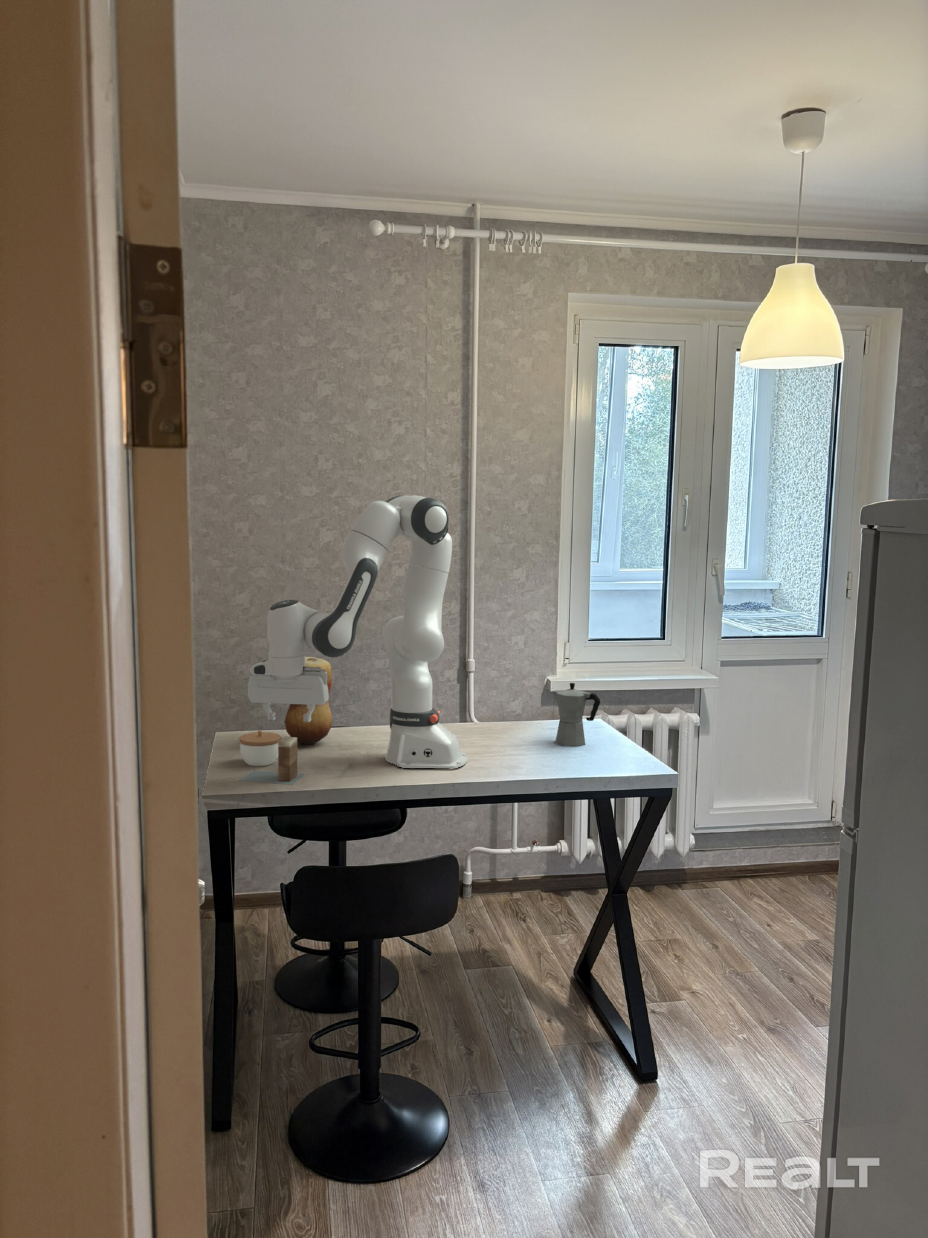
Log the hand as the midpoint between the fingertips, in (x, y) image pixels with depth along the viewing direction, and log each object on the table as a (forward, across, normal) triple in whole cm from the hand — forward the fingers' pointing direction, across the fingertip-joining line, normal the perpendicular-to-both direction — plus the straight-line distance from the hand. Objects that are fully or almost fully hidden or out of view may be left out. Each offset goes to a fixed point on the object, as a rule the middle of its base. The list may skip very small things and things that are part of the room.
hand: (289, 720), depth 232 cm
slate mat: (+15, +5, +1) cm, 16 cm away
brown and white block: (+15, +1, +1) cm, 15 cm away
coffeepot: (+19, -66, -55) cm, 88 cm away
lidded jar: (+16, +13, -11) cm, 23 cm away
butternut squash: (+16, +9, -35) cm, 40 cm away
